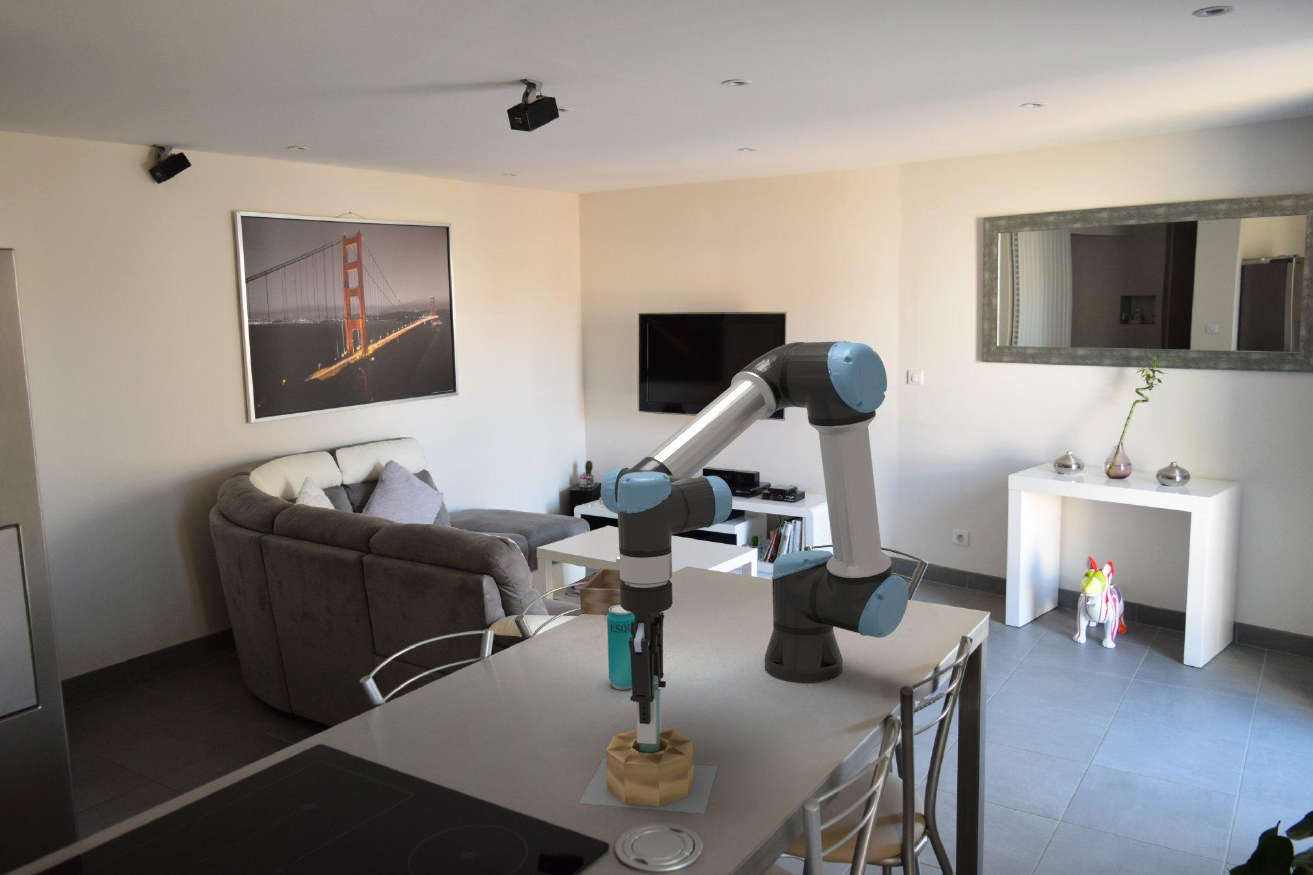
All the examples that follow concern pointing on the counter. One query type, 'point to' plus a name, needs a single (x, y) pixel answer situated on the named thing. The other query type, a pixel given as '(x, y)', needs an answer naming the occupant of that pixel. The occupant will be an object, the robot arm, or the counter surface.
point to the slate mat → (688, 804)
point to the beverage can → (619, 647)
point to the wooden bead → (650, 769)
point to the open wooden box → (601, 592)
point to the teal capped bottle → (656, 747)
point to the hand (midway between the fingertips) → (649, 736)
